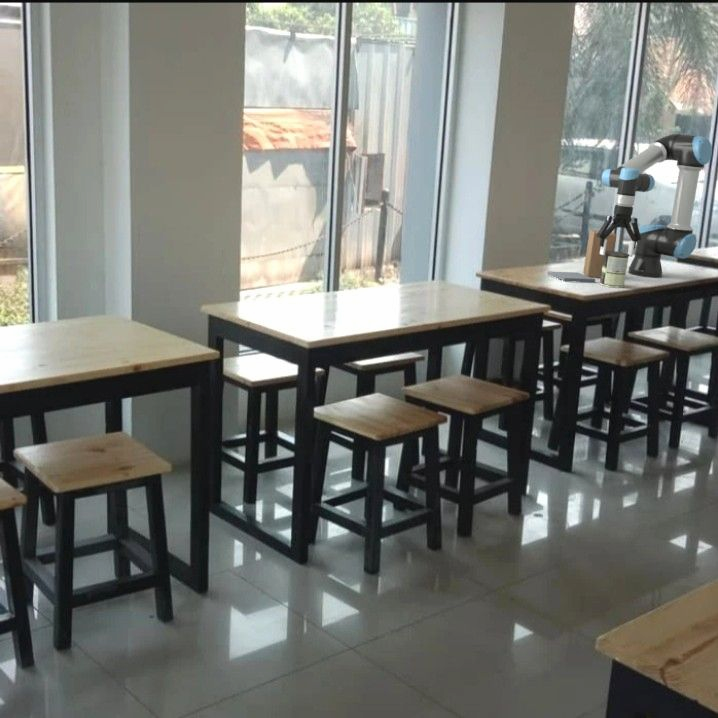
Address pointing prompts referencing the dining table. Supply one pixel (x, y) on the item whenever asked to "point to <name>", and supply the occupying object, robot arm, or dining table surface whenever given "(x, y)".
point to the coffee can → (614, 269)
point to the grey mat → (571, 276)
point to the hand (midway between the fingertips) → (615, 255)
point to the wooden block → (596, 253)
